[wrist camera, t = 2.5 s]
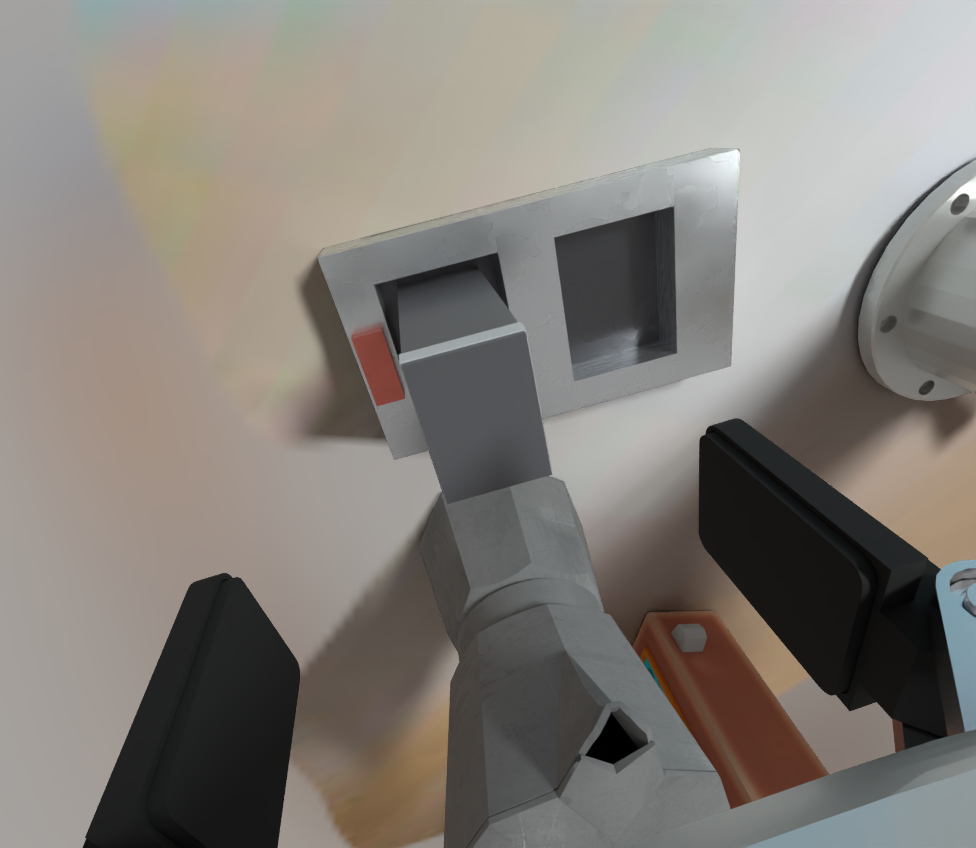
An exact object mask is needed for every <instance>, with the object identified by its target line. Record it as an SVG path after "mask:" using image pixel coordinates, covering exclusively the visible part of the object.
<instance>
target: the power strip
mask: <svg viewBox="0 0 976 848" xmlns="http://www.w3.org/2000/svg"><path fill="white" fill-rule="evenodd" d="M739 158H740V149H736V148H709V149H705V150H701V151H697V152H693V153H690V154H686V155H682V156H678V157H674V158H670V159H666V160H662V161H659V162H655V163H651V164H647V165H643V166H639V167H635V168H631V169H628V170H624V171H620V172H616V173H612V174H608V175H604V176H601V177H597V178H593V179H589V180H585V181H581V182H577V183H573V184H570V185H566V186H562V187H558V188H554V189H550V190H546V191H542V192H539V193H535V194H531V195H527V196H523V197H519V198H515V199H511V200H508V201H504V202H500V203H496V204H492V205H488V206H484V207H481V208H477V209H473V210H469V211H465V212H461V213H457V214H453V215H450V216H446V217H442V218H438V219H434V220H430V221H426V222H422V223H419V224H415V225H411V226H407V227H403V228H399V229H395V230H391V231H388V232H384V233H380V234H376V235H372V236H368V237H364V238H361V239H357V240H353V241H349V242H345V243H341V244H337V245H333V246H330V247H326V248H323V250H322V251H321V253H320V255H319V256H318V261H319V264H320V266H321V269H322V271H323V274H324V277H325V279H326V282H327V285H328V287H329V290H330V292H331V295H332V298H333V300H334V303H335V306H336V308H337V311H338V313H339V316H340V319H341V321H342V324H343V327H344V329H345V332H346V334H347V337H348V340H349V342H350V345H351V348H352V350H353V353H354V355H355V358H356V361H357V363H358V366H359V369H360V371H361V374H362V376H363V379H364V382H365V384H366V387H367V390H368V392H369V395H370V397H371V400H372V403H373V405H374V408H375V411H376V413H377V416H378V418H379V421H380V424H381V426H382V429H383V432H384V434H385V437H386V439H387V442H388V445H389V447H390V450H391V453H392V455H393V458H394V459H399V458H403V457H406V456H410V455H413V454H417V453H421V452H424V451H428V447H427V444H426V441H425V438H424V435H423V432H422V429H421V426H420V423H419V420H418V417H417V414H416V411H415V408H414V405H413V402H412V399H411V396H410V393H409V390H408V387H407V384H406V381H405V378H404V375H403V372H402V369H401V366H400V363H399V354H401V344H400V327H399V311H398V294H397V287H400V286H404V285H408V284H412V283H415V282H419V281H423V280H427V279H431V278H434V277H438V276H442V275H446V274H450V273H453V272H457V271H461V270H465V269H469V268H472V267H476V266H477V267H478V268H479V269H480V271H481V272H482V274H483V275H484V276H485V278H486V279H487V280H488V282H489V283H490V284H491V286H492V287H493V289H494V290H495V291H496V293H497V294H498V295H499V297H500V298H501V300H502V301H503V302H504V304H505V305H506V306H507V308H508V309H509V311H510V312H511V313H512V315H513V316H514V317H515V319H516V320H517V321H518V322H521V323H522V324H523V326H524V327H525V328H526V333H527V339H528V344H529V350H530V355H531V360H532V366H533V371H534V377H535V382H536V388H537V393H538V398H539V404H540V409H541V415H542V419H543V418H546V417H550V416H554V415H557V414H561V413H564V412H568V411H572V410H575V409H579V408H582V407H586V406H589V405H593V404H597V403H600V402H604V401H607V400H611V399H615V398H618V397H622V396H625V395H629V394H633V393H636V392H640V391H643V390H647V389H651V388H654V387H658V386H661V385H665V384H669V383H672V382H676V381H679V380H683V379H686V378H690V377H694V376H697V375H701V374H704V373H708V372H712V371H715V370H719V369H722V368H726V367H730V366H731V356H732V331H733V306H734V282H735V257H736V232H737V208H738V183H739Z"/></svg>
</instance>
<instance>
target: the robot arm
mask: <svg viewBox="0 0 976 848" xmlns="http://www.w3.org/2000/svg"><path fill="white" fill-rule="evenodd" d="M858 343H859V348H860V354H861V358H862V360H863V363H864V365H865V367H866V369H867V371H868V373H869V374H870V375H871V376H872V377H873V378H874V379H875V380H876V381H877V382H878V383H879V384H880V385H882V386H884V387H886V388H888V389H889V390H891V391H893V392H895V393H897V394H899V395H902V396H904V397H907V398H910V399H913V400H922V401H936V400H945V399H950V398H954V397H957V396H961V395H965V394H968V393H971V392H975V393H976V159H975V160H974V161H972V162H971V163H969V164H968V165H966V166H965V167H963V168H962V169H960V170H959V171H957V172H955V173H954V174H953V175H951V176H950V177H949V178H948V179H947V180H946V181H944V182H943V183H942V184H941V185H940V186H939V187H937V188H936V189H935V190H934V191H933V192H932V193H930V194H929V195H928V196H927V197H926V198H925V200H924V201H923V202H922V203H921V204H920V205H919V206H918V207H917V208H916V209H915V210H914V212H913V213H912V214H911V215H910V216H909V217H908V218H907V219H906V220H905V222H904V223H903V225H902V226H901V227H900V229H899V230H898V231H897V233H896V234H895V236H894V237H893V238H892V240H891V241H890V243H889V244H888V246H887V247H886V249H885V251H884V253H883V255H882V256H881V258H880V260H879V262H878V264H877V265H876V267H875V269H874V271H873V274H872V276H871V279H870V281H869V284H868V286H867V289H866V292H865V294H864V298H863V303H862V307H861V311H860V316H859V327H858ZM699 536H700V539H701V542H702V544H703V546H704V548H705V549H706V550H707V552H708V553H709V554H710V555H711V556H712V558H713V559H714V560H715V561H716V562H717V564H718V565H719V566H720V567H721V568H722V570H723V571H724V572H725V573H726V575H727V576H728V577H729V578H730V579H731V581H732V582H733V583H734V584H735V585H736V587H737V588H738V589H739V590H740V591H741V593H742V594H743V595H744V596H745V598H746V599H747V600H748V601H749V602H750V604H751V605H752V606H753V607H754V608H755V610H756V611H757V612H758V613H759V614H760V616H761V617H762V618H763V619H764V621H765V622H766V623H767V624H768V625H769V627H770V628H771V629H772V630H773V631H774V633H775V634H776V635H777V636H778V637H779V639H780V640H781V641H782V642H783V644H784V645H785V646H786V647H787V648H788V650H789V651H790V652H791V653H792V654H793V656H794V657H795V658H796V659H797V660H798V662H799V663H800V664H801V665H802V667H803V668H804V669H805V670H806V671H807V673H808V674H809V675H810V676H811V677H812V679H813V680H814V681H815V682H816V683H817V684H818V686H819V687H820V688H821V689H822V690H823V691H824V692H826V693H827V694H829V695H837V697H838V698H839V699H840V700H841V701H842V703H843V704H844V705H845V706H846V707H847V709H848V710H849V711H852V710H855V709H858V708H861V707H863V706H866V705H869V704H872V703H875V702H877V703H878V704H879V705H880V706H881V707H882V708H883V709H884V710H885V712H886V713H887V714H888V715H889V716H890V717H891V718H892V721H893V731H894V742H895V751H896V753H894V754H890V755H887V756H885V757H881V758H878V759H875V760H872V761H869V762H866V763H863V764H860V765H857V766H854V767H851V768H848V769H845V770H842V771H839V772H836V773H833V774H830V775H827V776H824V777H821V778H819V779H816V780H813V781H810V782H807V783H804V784H801V785H799V786H796V787H793V788H790V789H787V790H784V791H782V792H779V793H776V794H773V795H770V796H767V797H765V798H762V799H759V800H756V801H753V802H750V803H747V804H745V805H742V806H739V807H736V808H733V809H730V810H728V811H725V812H722V813H719V814H716V815H713V816H710V817H708V818H705V819H702V820H699V821H696V822H693V823H691V824H688V825H685V826H682V827H679V828H676V829H674V830H671V831H668V832H665V833H662V834H660V835H657V836H654V837H651V838H648V839H646V840H643V841H640V842H637V843H634V844H632V845H629V846H626V847H623V848H976V560H965V561H957V562H953V563H951V564H949V565H947V566H944V567H943V568H942V569H940V568H938V567H937V566H936V565H934V564H933V563H932V562H930V561H929V560H928V558H927V557H926V556H925V555H923V554H922V553H921V552H919V551H918V550H917V549H915V548H914V547H912V546H911V545H910V544H908V543H907V542H906V541H904V540H903V539H902V538H900V537H899V536H898V535H896V534H895V533H894V532H892V531H891V530H890V529H888V528H887V527H886V526H884V525H883V524H881V523H880V522H879V521H877V520H876V519H875V518H873V517H872V516H871V515H869V514H868V513H867V512H865V511H864V510H863V509H861V508H860V507H859V506H857V505H856V504H855V503H853V502H852V501H850V500H849V499H848V498H846V497H845V496H844V495H842V494H841V493H840V492H838V491H837V490H836V489H834V488H833V487H832V486H830V485H829V484H828V483H826V482H825V481H824V480H822V479H821V478H819V477H818V476H817V475H815V474H814V473H813V472H811V471H810V470H809V469H807V468H806V467H805V466H803V465H802V464H801V463H799V462H798V461H797V460H795V459H794V458H793V457H791V456H790V455H789V454H787V453H786V452H784V451H783V450H782V449H780V448H779V447H778V446H776V445H775V444H774V443H772V442H771V441H770V440H768V439H767V438H766V437H764V436H763V435H762V434H760V433H759V432H758V431H756V430H755V429H753V428H752V427H751V426H749V425H748V424H747V423H745V422H744V421H742V420H741V419H737V418H735V419H731V420H728V421H725V422H722V423H718V424H715V425H712V426H709V427H708V428H707V430H706V435H704V436H702V437H701V438H700V443H699ZM299 683H300V669H299V665H298V662H297V660H296V658H295V657H294V655H293V654H292V653H291V651H290V649H289V648H288V646H287V645H286V644H285V642H284V640H283V639H282V637H281V636H280V635H279V633H278V632H277V630H276V629H275V627H274V626H273V624H272V623H271V621H270V620H269V618H268V617H267V615H266V614H265V613H264V611H263V610H262V608H261V607H260V605H259V604H258V602H257V601H256V599H255V598H254V596H253V595H252V593H251V592H250V591H249V589H248V588H247V586H246V585H245V583H244V582H243V581H242V579H241V578H238V577H236V578H232V577H231V576H230V575H229V574H227V573H222V574H219V575H215V576H212V577H209V578H205V579H202V580H199V581H196V582H194V583H192V584H191V585H190V587H189V588H188V591H187V593H186V595H185V598H184V600H183V602H182V605H181V607H180V610H179V612H178V614H177V617H176V619H175V622H174V624H173V627H172V629H171V631H170V634H169V637H168V639H167V641H166V643H165V646H164V649H163V651H162V653H161V656H160V658H159V660H158V663H157V665H156V668H155V670H154V673H153V675H152V677H151V680H150V682H149V685H148V687H147V690H146V692H145V694H144V697H143V699H142V702H141V704H140V706H139V709H138V711H137V714H136V716H135V718H134V721H133V723H132V726H131V728H130V730H129V733H128V736H127V738H126V740H125V743H124V745H123V747H122V750H121V752H120V755H119V757H118V759H117V762H116V764H115V767H114V769H113V771H112V774H111V777H110V779H109V781H108V784H107V786H106V789H105V791H104V793H103V796H102V798H101V801H100V803H99V805H98V808H97V810H96V813H95V815H94V818H93V820H92V822H91V825H90V827H89V829H88V832H87V834H86V837H85V838H86V841H85V843H84V846H83V848H277V847H278V839H279V832H280V825H281V817H282V809H283V802H284V795H285V787H286V780H287V772H288V765H289V758H290V750H291V743H292V735H293V728H294V720H295V713H296V706H297V698H298V691H299Z"/></svg>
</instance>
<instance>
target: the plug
mask: <svg viewBox="0 0 976 848" xmlns="http://www.w3.org/2000/svg"><path fill="white" fill-rule="evenodd" d="M397 294H398V311H399V327H400V344H401V354H399V363H400V366H401V369H402V372H403V375H404V378H405V381H406V384H407V387H408V390H409V393H410V396H411V399H412V402H413V405H414V408H415V411H416V414H417V417H418V420H419V423H420V426H421V429H422V432H423V435H424V438H425V441H426V444H427V447H428V450H429V453H430V456H431V459H432V462H433V465H434V468H435V471H436V474H437V477H438V480H439V483H440V486H441V489H442V492H443V495H444V498H445V501H446V502H447V504H450V503H454V502H457V501H461V500H464V499H468V498H471V497H475V496H478V495H482V494H485V493H489V492H493V491H496V490H500V489H503V488H507V487H510V486H514V485H517V484H521V483H524V482H528V481H531V480H535V479H538V478H542V477H545V476H549V475H552V469H551V464H550V458H549V453H548V447H547V442H546V436H545V431H544V426H543V420H542V415H541V409H540V404H539V398H538V393H537V388H536V382H535V377H534V371H533V366H532V360H531V355H530V350H529V344H528V339H527V333H526V328H525V327H524V326H523V324H522V323H521V322H518V321H517V320H516V319H515V317H514V316H513V315H512V313H511V312H510V311H509V309H508V308H507V306H506V305H505V304H504V302H503V301H502V300H501V298H500V297H499V295H498V294H497V293H496V291H495V290H494V289H493V287H492V286H491V284H490V283H489V282H488V280H487V279H486V278H485V276H484V275H483V274H482V272H481V271H480V269H479V268H478V267H477V266H476V267H472V268H469V269H465V270H461V271H457V272H453V273H450V274H446V275H442V276H438V277H434V278H431V279H427V280H423V281H419V282H415V283H412V284H408V285H404V286H400V287H397Z"/></svg>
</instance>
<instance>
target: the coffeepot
mask: <svg viewBox="0 0 976 848" xmlns="http://www.w3.org/2000/svg"><path fill="white" fill-rule="evenodd" d="M419 548H420V551H421V554H422V557H423V560H424V563H425V566H426V569H427V572H428V575H429V578H430V581H431V584H432V587H433V591H434V594H435V597H436V600H437V603H438V606H439V609H440V612H441V615H442V618H443V621H444V624H445V627H446V630H447V633H448V635H449V637H450V639H451V641H452V643H453V645H454V646H455V648H456V650H457V651H458V655H459V661H460V662H459V664H458V666H457V668H456V671H455V673H454V675H453V678H452V680H451V684H450V708H449V733H448V757H447V782H446V806H445V831H444V848H623V847H626V846H629V845H632V844H634V843H637V842H640V841H643V840H646V839H648V838H651V837H654V836H657V835H660V834H662V833H665V832H668V831H671V830H674V829H676V828H679V827H682V826H685V825H688V824H691V823H693V822H696V821H699V820H702V819H705V818H708V817H710V816H713V815H716V814H719V813H722V812H725V811H728V810H730V806H729V803H728V800H727V797H726V793H725V790H724V787H723V784H722V781H721V778H720V776H719V774H718V773H717V772H716V770H715V768H714V767H713V765H712V764H711V763H710V761H709V760H708V758H707V757H706V755H705V754H704V752H703V751H702V749H701V748H700V746H699V745H698V743H697V742H696V740H695V739H694V737H693V736H692V735H691V733H690V732H689V730H688V729H687V727H686V726H685V724H684V723H683V721H682V720H681V718H680V717H679V715H678V714H677V712H676V711H675V710H674V708H673V707H672V705H671V704H670V702H669V701H668V699H667V698H666V696H665V695H664V693H663V692H662V690H661V689H660V687H659V686H658V685H657V683H656V682H655V680H654V679H653V677H652V676H651V674H650V673H649V671H648V670H647V668H646V667H645V665H644V664H643V662H642V661H641V660H640V658H639V657H638V655H637V654H636V652H635V651H634V649H633V648H632V646H631V645H630V643H629V642H628V640H627V639H626V637H625V636H624V634H623V633H622V632H621V630H620V629H619V627H618V626H617V624H616V623H615V621H614V620H613V618H612V617H611V615H609V614H606V613H604V609H603V605H602V601H601V598H600V594H599V590H598V586H597V582H596V578H595V574H594V570H593V566H592V563H591V559H590V555H589V551H588V547H587V543H586V539H585V535H584V532H583V528H582V525H581V522H580V520H579V517H578V515H577V512H576V510H575V508H574V505H573V503H572V500H571V498H570V496H569V493H568V491H567V488H566V486H565V483H564V481H561V480H558V479H555V478H553V477H550V476H545V477H542V478H538V479H535V480H531V481H528V482H524V483H521V484H517V485H514V486H510V487H507V488H503V489H500V490H496V491H493V492H489V493H485V494H482V495H478V496H475V497H471V498H468V499H464V500H461V501H457V502H454V503H450V504H447V502H446V501H445V498H444V495H443V493H441V495H440V497H439V499H438V501H437V503H436V505H435V507H434V509H433V510H432V512H431V514H430V516H429V519H428V522H427V525H426V528H425V531H424V534H423V536H422V538H421V540H420V543H419Z"/></svg>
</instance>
